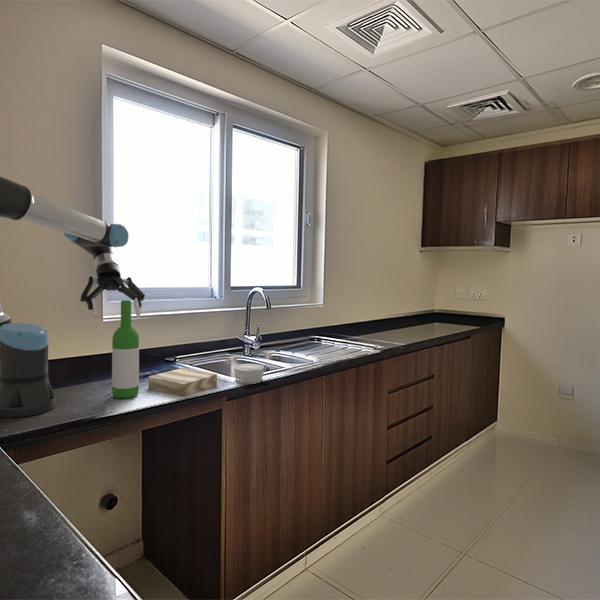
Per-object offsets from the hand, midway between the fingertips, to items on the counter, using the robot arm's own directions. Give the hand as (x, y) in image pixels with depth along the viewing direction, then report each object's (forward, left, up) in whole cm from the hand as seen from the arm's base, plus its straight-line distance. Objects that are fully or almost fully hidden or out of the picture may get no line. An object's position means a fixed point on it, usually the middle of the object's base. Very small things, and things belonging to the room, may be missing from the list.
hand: (117, 315), depth 143 cm
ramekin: (+33, -30, -24) cm, 51 cm away
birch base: (+13, -17, -24) cm, 32 cm away
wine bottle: (-5, -10, -24) cm, 27 cm away
